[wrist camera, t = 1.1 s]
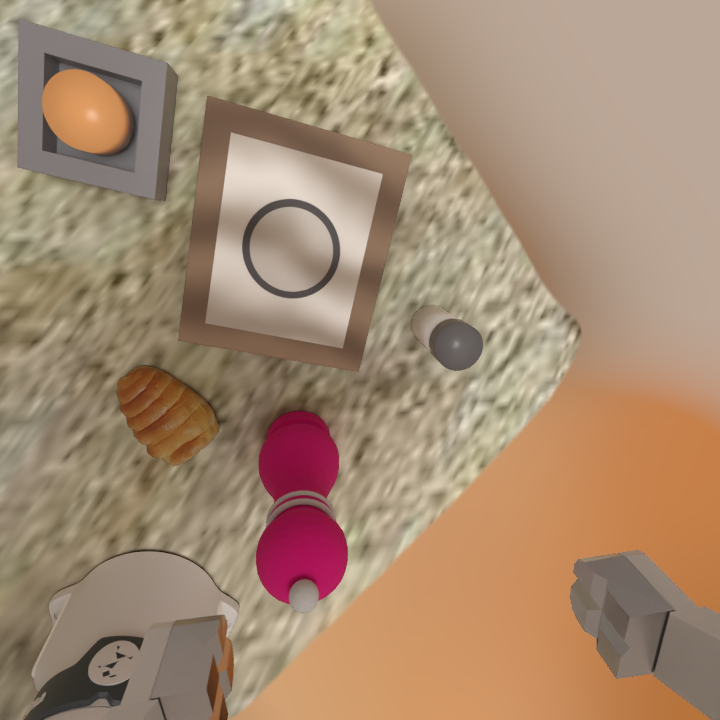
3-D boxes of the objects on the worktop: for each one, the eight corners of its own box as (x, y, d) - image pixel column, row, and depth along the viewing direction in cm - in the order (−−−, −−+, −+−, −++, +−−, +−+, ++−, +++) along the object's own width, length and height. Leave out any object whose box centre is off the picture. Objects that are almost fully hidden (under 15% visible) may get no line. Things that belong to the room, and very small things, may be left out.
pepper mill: (344, 454, 45) (382, 627, 26) (278, 479, 45) (269, 672, 26) (319, 395, 43) (342, 539, 24) (249, 421, 42) (217, 587, 24)
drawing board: (356, 366, 42) (359, 373, 40) (182, 335, 39) (177, 341, 37) (407, 156, 37) (413, 154, 35) (210, 100, 33) (206, 94, 32)
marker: (442, 345, 43) (474, 374, 35) (405, 338, 42) (430, 366, 35) (453, 308, 42) (488, 329, 34) (416, 300, 41) (444, 320, 33)
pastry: (102, 389, 39) (84, 406, 36) (162, 347, 39) (149, 360, 36) (174, 460, 43) (164, 483, 39) (230, 421, 42) (225, 441, 39)
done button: (131, 163, 32) (119, 159, 30) (59, 145, 31) (41, 140, 29) (136, 91, 31) (124, 82, 29) (61, 70, 30) (42, 58, 28)
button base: (165, 200, 35) (154, 199, 32) (40, 171, 33) (17, 167, 30) (178, 75, 33) (167, 63, 30) (43, 36, 31) (18, 18, 28)
